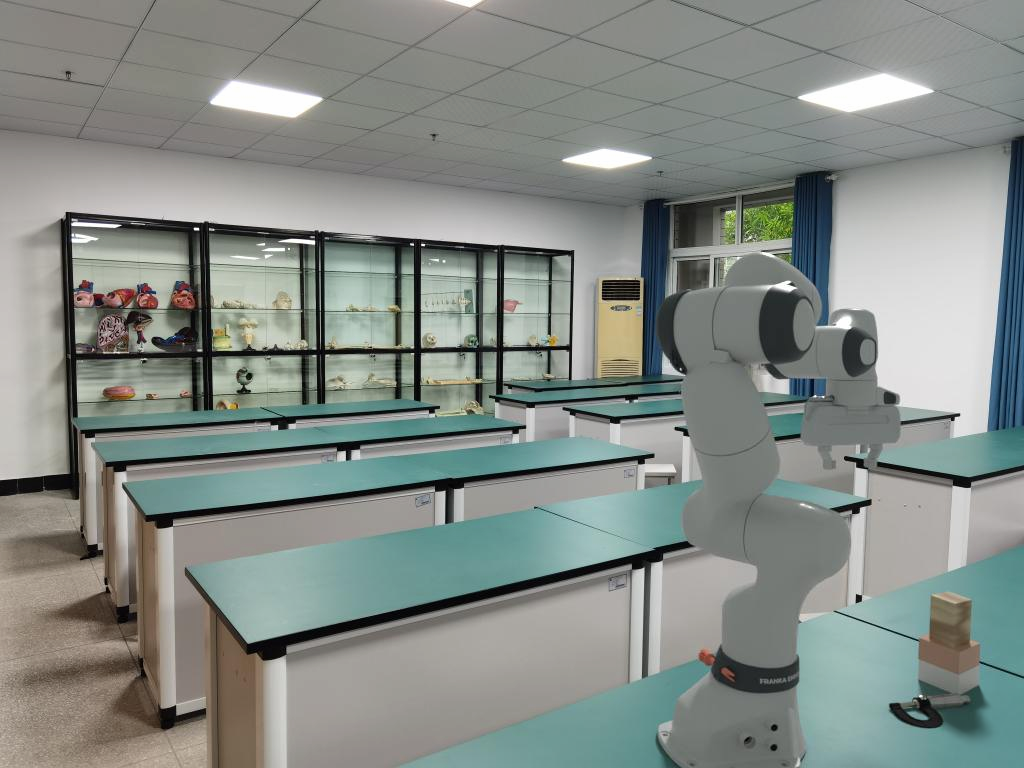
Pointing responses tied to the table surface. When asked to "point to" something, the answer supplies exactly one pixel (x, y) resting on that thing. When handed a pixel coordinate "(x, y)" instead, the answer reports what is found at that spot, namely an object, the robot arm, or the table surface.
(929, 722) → the micrometer
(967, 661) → the terracotta tower block
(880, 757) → the table surface
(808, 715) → the table surface
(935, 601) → the oak block
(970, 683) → the off-white tower block
